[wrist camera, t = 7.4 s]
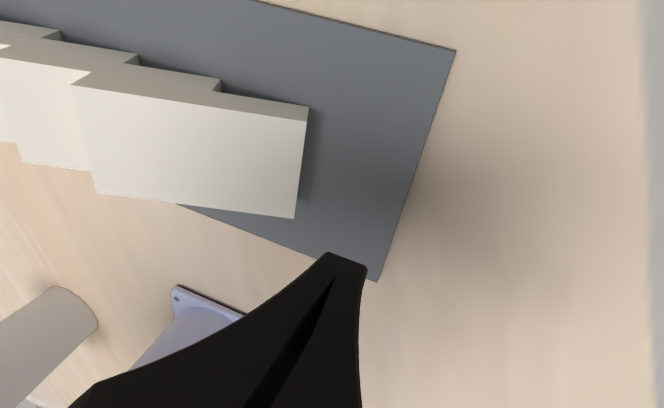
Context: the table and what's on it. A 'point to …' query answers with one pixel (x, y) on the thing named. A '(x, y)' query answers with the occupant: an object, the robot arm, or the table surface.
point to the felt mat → (289, 101)
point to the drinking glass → (40, 341)
